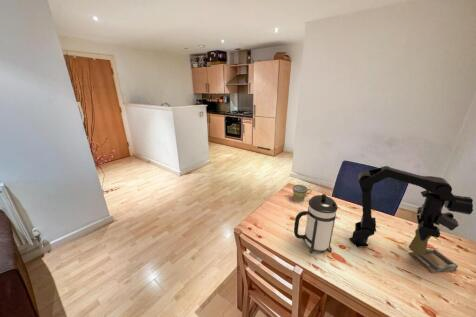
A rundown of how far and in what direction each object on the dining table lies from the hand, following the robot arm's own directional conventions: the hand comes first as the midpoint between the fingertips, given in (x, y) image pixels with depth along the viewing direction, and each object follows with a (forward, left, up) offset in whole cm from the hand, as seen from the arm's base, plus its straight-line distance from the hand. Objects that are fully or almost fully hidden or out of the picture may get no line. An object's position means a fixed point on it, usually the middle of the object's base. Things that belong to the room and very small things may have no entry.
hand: (421, 236), depth 89 cm
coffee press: (-42, +14, -14) cm, 46 cm away
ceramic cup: (-31, +56, -14) cm, 66 cm away
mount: (+7, -2, -14) cm, 15 cm away
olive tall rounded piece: (0, 0, -8) cm, 8 cm away
